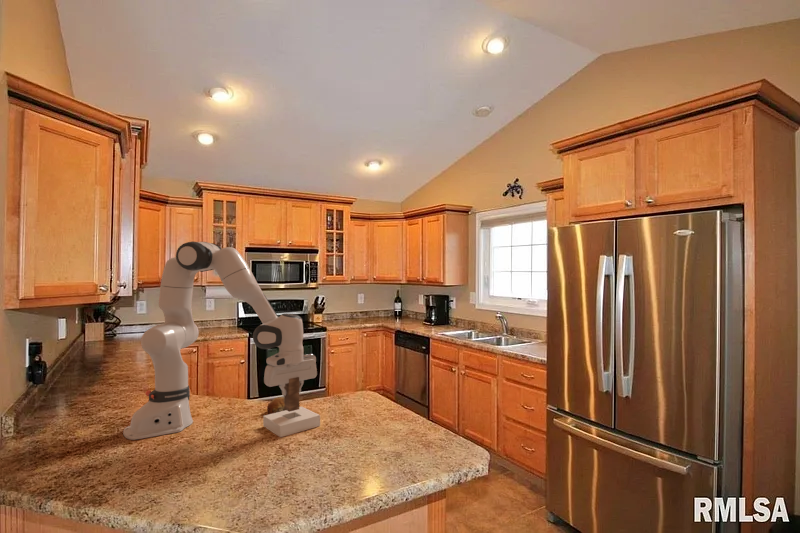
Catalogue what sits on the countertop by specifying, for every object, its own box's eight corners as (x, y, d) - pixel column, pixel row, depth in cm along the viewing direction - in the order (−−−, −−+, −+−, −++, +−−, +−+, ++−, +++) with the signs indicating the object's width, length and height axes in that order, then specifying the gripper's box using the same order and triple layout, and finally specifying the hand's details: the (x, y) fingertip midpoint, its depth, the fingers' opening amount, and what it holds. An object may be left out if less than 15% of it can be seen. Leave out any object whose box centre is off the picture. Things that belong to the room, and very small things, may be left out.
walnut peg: (289, 411, 155) (289, 379, 155) (284, 409, 158) (284, 377, 158) (299, 409, 158) (299, 377, 158) (294, 406, 161) (293, 375, 161)
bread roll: (293, 419, 176) (296, 399, 179) (285, 416, 167) (288, 395, 170) (271, 418, 177) (274, 398, 180) (261, 415, 168) (265, 394, 171)
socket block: (280, 437, 147) (280, 425, 147) (263, 426, 158) (263, 415, 158) (320, 425, 158) (320, 415, 158) (301, 416, 168) (301, 406, 168)
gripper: (311, 352, 167) (311, 386, 167) (262, 359, 154) (262, 397, 154) (319, 354, 163) (320, 390, 163) (269, 362, 149) (269, 401, 149)
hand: (291, 393), depth 158 cm, fingers closed on walnut peg, 4 cm apart
